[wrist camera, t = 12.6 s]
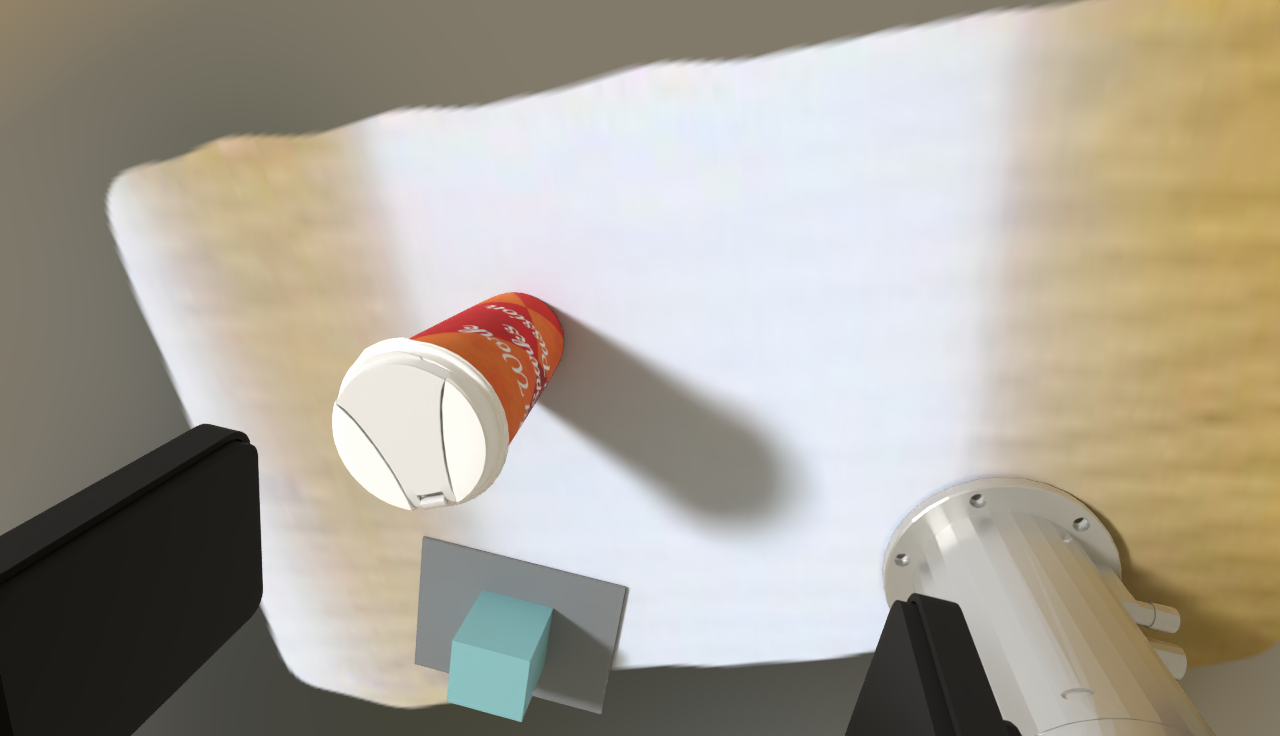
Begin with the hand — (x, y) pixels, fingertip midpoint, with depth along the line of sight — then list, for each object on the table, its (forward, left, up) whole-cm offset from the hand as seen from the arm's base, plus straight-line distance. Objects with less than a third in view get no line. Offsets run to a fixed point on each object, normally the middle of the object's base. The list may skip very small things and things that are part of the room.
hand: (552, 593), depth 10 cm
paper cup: (+10, +8, -31) cm, 33 cm away
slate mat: (+8, +29, -30) cm, 43 cm away
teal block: (+8, +29, -30) cm, 42 cm away
